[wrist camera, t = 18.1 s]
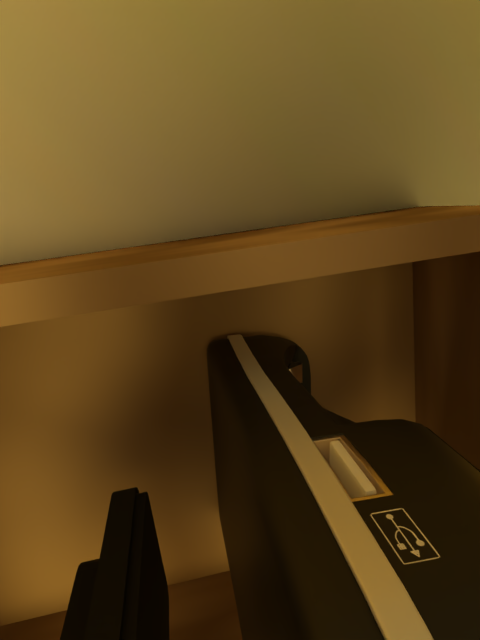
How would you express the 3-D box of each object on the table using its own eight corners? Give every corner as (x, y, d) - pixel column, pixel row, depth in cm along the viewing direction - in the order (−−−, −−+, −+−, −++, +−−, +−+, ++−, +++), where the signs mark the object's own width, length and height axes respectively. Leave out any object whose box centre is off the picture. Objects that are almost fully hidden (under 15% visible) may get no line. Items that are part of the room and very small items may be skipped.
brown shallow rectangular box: (420, 206, 14) (548, 204, 10) (425, 523, 18) (522, 639, 13) (-163, 288, 12) (-378, 339, 7) (-32, 633, 15) (-120, 824, 11)
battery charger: (322, 503, 16) (698, 1189, 5) (218, 521, 15) (373, 1352, 4) (322, 317, 14) (937, 742, 3) (203, 329, 13) (410, 922, 2)
